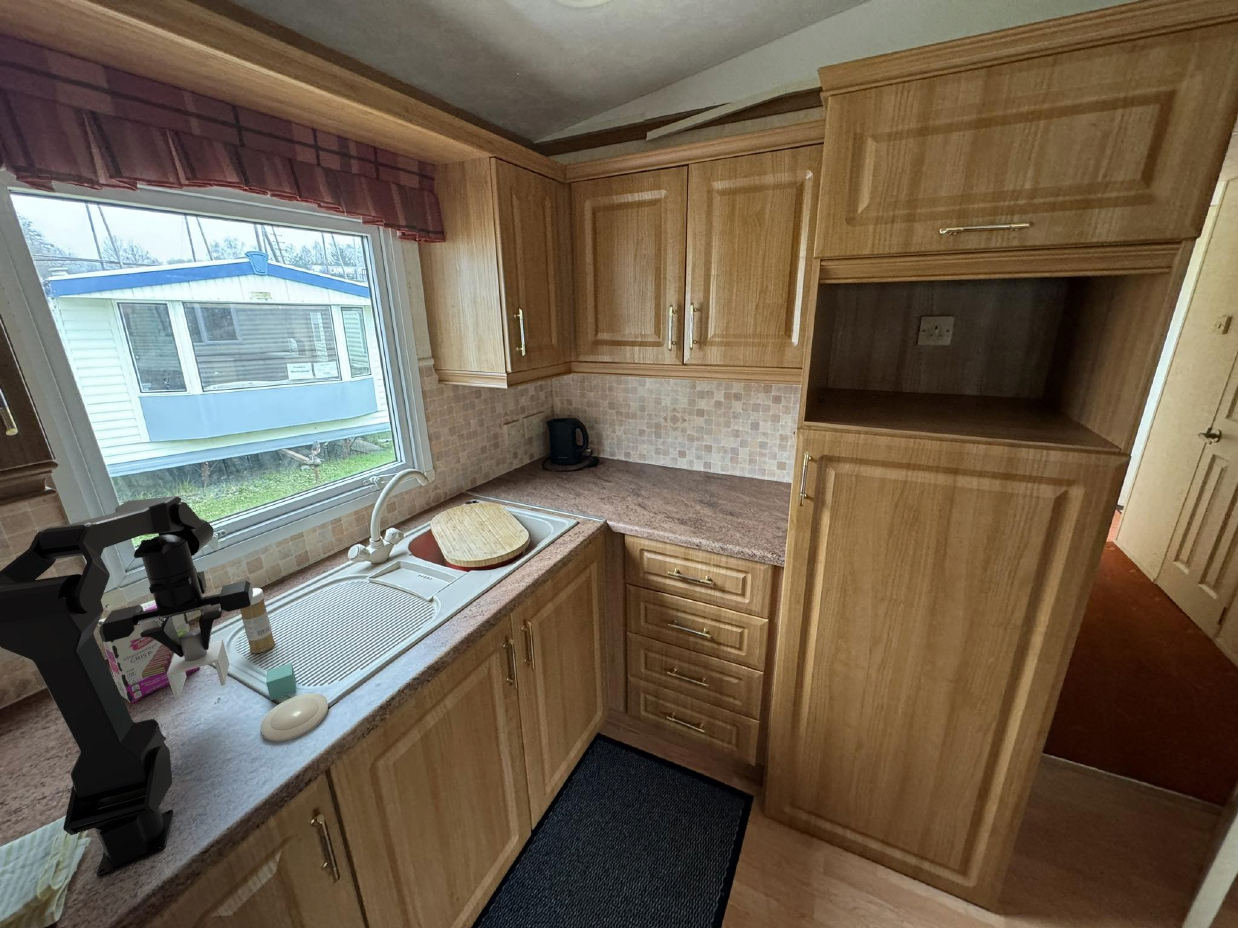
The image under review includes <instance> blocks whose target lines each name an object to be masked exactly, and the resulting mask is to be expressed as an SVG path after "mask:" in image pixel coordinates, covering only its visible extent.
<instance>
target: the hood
mask: <svg viewBox="0 0 1238 928" xmlns="http://www.w3.org/2000/svg"><path fill="white" fill-rule="evenodd" d="M178 639H179V642H180V645H181V649H182V652H183V655H184V656H183V657H179V656H178V655H176V654H174V657H173V659H172V662H171V664H170V667H169V669H168V672H167V676H168V679H169V682H170V684H169V685H170V688H171V691H172V695H173V698H174V701H179V700H180V698H181V695H182V692H183V688H184V685H185V683H186V679H187V676H188V675H186V673H185V671H188V670H191V669H195V668H198V667H200V668H201V667H205V666H208V665H211V664H214V665H215V669H216V672H217V675H218V680H219V683H220V687H223V686H225V685H226V681H227V677H228V672H229V667H230V662H229V658H228V654H227V651H226V646H225V642H224V639H219V640H216V641H212V642H211V641H210V644H209V649H208V650H205V648H204V646H203V643H202V637H201V632H200V629H192V630H191V629H190V631H188V632H186V633H184V634H182V635H181V636H179V638H178Z"/></svg>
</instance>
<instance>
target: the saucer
mask: <svg viewBox="0 0 1238 928" xmlns="http://www.w3.org/2000/svg"><path fill="white" fill-rule="evenodd" d="M328 706H329V703H328V699H327V697H326V696H324V695H323V694H320V693H314V692H310V693H304V694H303V693H302V694H299V695H295V696H293V697H291V698H288V699H285V700H284V701H282V702H281V703H279V704H277V705H276V706H275V707H273V708H272V709H271V710H269V711H268V713H266V715H264V717H263V719H262V720H261V722H260V731H261V734H262V737H263V738H264V739H265V740H267V741H269V742H278V743H279V742H287V741H290V740H293V739H295V738H299V737H301V736H303V735H305V734H307V733H308V732H311V731H312V730H313V729H315V728H316V727H318V725H319V724H320V723H321V722H322V721H323V720H324V719H325V718H326V716H327V715H328V712H329V709H328Z"/></svg>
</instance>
